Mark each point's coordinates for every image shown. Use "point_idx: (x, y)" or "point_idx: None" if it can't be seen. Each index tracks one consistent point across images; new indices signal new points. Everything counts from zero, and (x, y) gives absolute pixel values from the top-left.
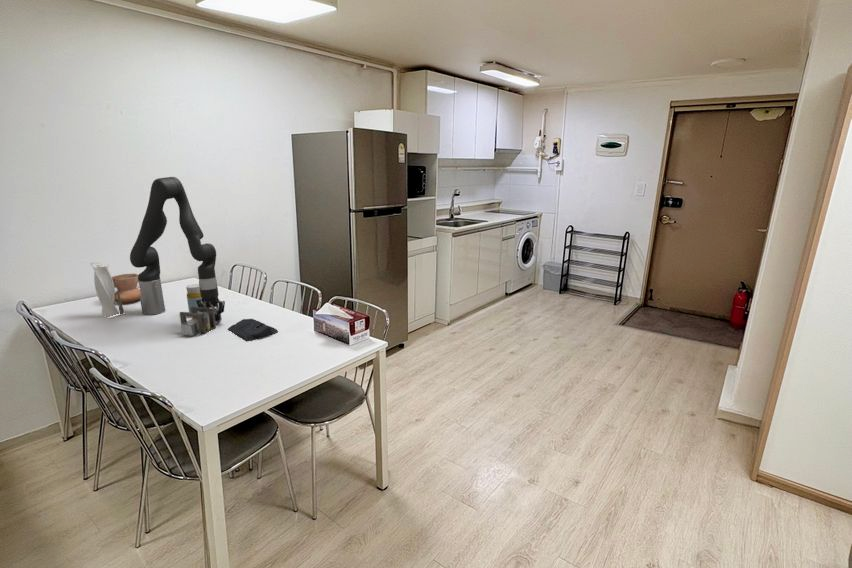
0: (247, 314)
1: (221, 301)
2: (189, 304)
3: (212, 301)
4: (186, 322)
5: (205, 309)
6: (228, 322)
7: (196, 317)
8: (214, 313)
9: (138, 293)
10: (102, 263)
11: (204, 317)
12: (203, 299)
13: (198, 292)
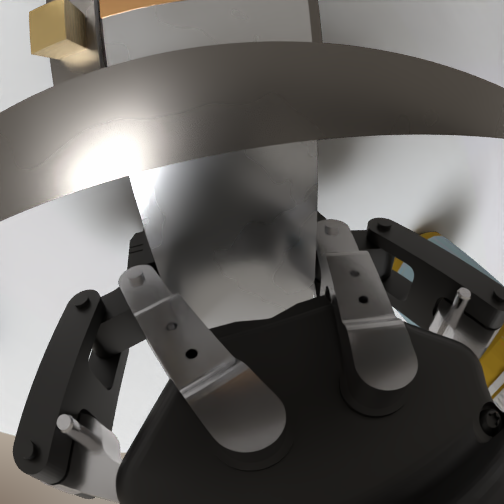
0: (140, 397)
1: (77, 491)
2: (486, 274)
3: (220, 470)
4: None
5: (81, 78)
6: (101, 280)
7: (284, 7)
8: (157, 267)
9: None
10: None
11: (141, 50)
12: (456, 391)
13: (493, 383)
